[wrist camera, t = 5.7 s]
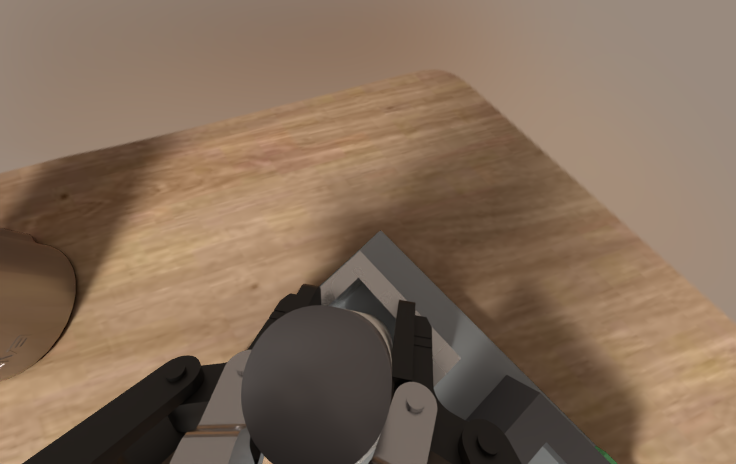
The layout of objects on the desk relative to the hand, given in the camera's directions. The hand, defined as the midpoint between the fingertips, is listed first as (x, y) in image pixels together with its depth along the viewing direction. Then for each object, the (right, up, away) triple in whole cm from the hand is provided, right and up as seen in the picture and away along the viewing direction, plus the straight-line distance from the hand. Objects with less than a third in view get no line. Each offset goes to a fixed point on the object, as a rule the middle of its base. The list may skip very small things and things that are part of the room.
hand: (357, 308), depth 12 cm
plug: (0, -3, +3) cm, 4 cm away
